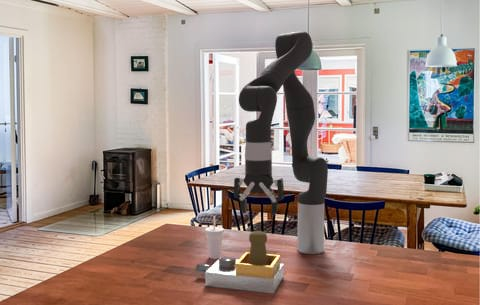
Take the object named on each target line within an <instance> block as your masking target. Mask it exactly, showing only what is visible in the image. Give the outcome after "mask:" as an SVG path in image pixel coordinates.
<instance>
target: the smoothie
mask: <svg viewBox="0 0 480 305" xmlns="http://www.w3.org/2000/svg"><path fill="white" fill-rule="evenodd" d="M204 230H205V231H204V233H205V235H206V243H207V250H208V257H209V258H210V259H211V260H212V259H214V260H215V259H217V260H218V259H220V258H221V253H222V244H223V242H222V241H223V236H224V234H223V233H225V229H224V227H220V226H216V215H213V226H209V227H206V228H205V229H204Z"/></svg>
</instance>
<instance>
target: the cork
mask: <svg viewBox="0 0 480 305" xmlns="http://www.w3.org/2000/svg"><path fill="white" fill-rule="evenodd" d="M248 239H249V243H250V249H249V252H250V256H249V264H256V265H266V266H268V261H267V254H268V253H267V248H266V247H267V246H266V243H267V241H268V235H267V233H266V232H265V231H261V230H260V231H259V230H255V231H252V232H250V234H249V236H248Z"/></svg>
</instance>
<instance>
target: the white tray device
mask: <svg viewBox="0 0 480 305" xmlns="http://www.w3.org/2000/svg"><path fill="white" fill-rule="evenodd" d="M249 256H250V251H249V252H248V251H246V252H245V253H243V255H241V257H240V258H239V259H236V258H235V257H232V256H223V257H220V258H217V260H216V261H215V262H214V263H213V264H212V265H211V264H203V263H197V264H196V267H195V270H196V271H195V272H197V273H202V274H204V275H205V276H204V277H205V278H204V280H205V287H215V288H220V289H222V288H223V289H232V290H241V291H247V292H248V291H250V292H255V293H257V292H259V293H266V294H275V292H276V290H277V289H278V287H279V285H280V283H282V282H281V281H282V280H283V278H284V263H281V255H280V254H269V253H267V261H268V266H266V265H256V264H249Z"/></svg>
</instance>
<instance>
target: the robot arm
mask: <svg viewBox="0 0 480 305" xmlns="http://www.w3.org/2000/svg"><path fill="white" fill-rule="evenodd" d="M274 48H275V56H276V59H275V60H273V61H272V62H270V63H269V64H268V65H266V67H265V68H264V69H263V71H262V72H261V73H260V75H259V76H257V77H256V78H254V79H253V80H252V81H250V82H248V83H247V84H245V85H244V86H243V87H242V88H241V90H240V93H239V94H238V95H239V96H238V104H239V106H240V108H241V109H242V110H243V111H245V112H250V113H251V112H256V113H257V112H260V114H259V117H257V119H253V120H249V121H247V122H246V124H245V146H244V147H245V148H244V165H245V166H244V167H245V168H244V169H245V170H244V176H245V177H241V176H236V177H235V178H234V179H233V198H234V199H237V200H239V201H240V203H239V204H240V212H242V214H244V215H245V214H246V213H247V212H248V207H247V206H248V205H247V204H248V202H247V200H248V199H247V197H248V196H249V194H250V193H252V194H261V195H263V194H265V195H266V196H267V197H268V198H269V199H270V201H271V204H270V205H271V206H270V208H271V216H275V215H276V214H277V212H278V210H279V209H278V208H279V205H278V202H280V201H282V200H284V198H285V190H284V189H285V188H284V179H283V178H282V177H280V178H273V171H272V170H273V162H272V161H273V156H272V155H273V152H272V151H273V149H272V142H271V141H272V139H271V136H272V133H271V132H272V130H271V129H272V123H273V118H274V113H275V112H276V108H277V102H278V96H277V93H278V92H279V91H280V89H281V88H282V87H283V93H284V94H283V95H284V100H285V109H286V115H287V117H286V118H287V121H288V128H289V134H290V144H291V160H292V163H291V165H292V171H293V175H294V178H295V179H296V180H297V181H299V182H301V183H302V182H303V183H307V184H308V189H307V190H306V191H303V192H300V193H299V194H298V195H297V240H296V241H297V244H296V246H297V247H296V248H297V249H296V250H297V251H298V252H299V253H302V254H306V255H307V254H308V255H316V254H322V253H323V252H324V251H325V250H324V249H325V247H324V246H325V200H326V199H325V198H326V196H327V188H328V177H329V176H328V175H329V171H328V170H329V167H328V163H327V161H326V159H325V158H323V157H320V156H312V155H309V151H308V140H309V139H308V138H309V136H310V133H311V132H312V130H313V127H314V124H315V121H316V112H315V104H314V98H313V97H312V95H311V93H310V92H309V91H308V89H307V88H306V87H305V86H304V84H303V83H302V82H301V80H300V79H299V78H298V76H297V74H296V72H295V71H296V70H297V69H298V68H299V67H300V66H301V65H302V64H304V63H305V62H306V61H307V60H308V59H309V58H310V57H311V55H312V52H313V42H312V38H311V35H310V34H309V33H308V31H307V32H306V31H294V32H286V33H280V34H278V35H277V36H276V38H275V43H274ZM243 183H244V184H245V186H246V188H245V190H244V191H243V193H241V185H243ZM273 184H274V186H275V187H276V188H277V195H276V193H275V191H274V190H273V188H272V185H273Z"/></svg>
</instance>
